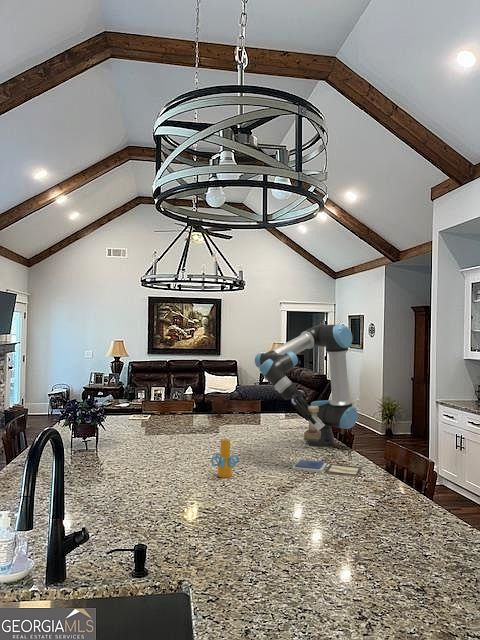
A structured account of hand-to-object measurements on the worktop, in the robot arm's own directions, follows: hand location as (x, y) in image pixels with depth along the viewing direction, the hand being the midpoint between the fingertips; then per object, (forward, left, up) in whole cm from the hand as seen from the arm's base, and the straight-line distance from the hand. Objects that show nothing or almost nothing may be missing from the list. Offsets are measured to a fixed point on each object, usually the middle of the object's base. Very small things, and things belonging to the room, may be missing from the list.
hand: (321, 428), depth 238 cm
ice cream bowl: (-106, -90, -18) cm, 141 cm away
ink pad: (0, -5, -18) cm, 19 cm away
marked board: (0, +10, -18) cm, 21 cm away
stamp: (0, -4, -5) cm, 7 cm away
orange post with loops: (+28, -35, -18) cm, 48 cm away
